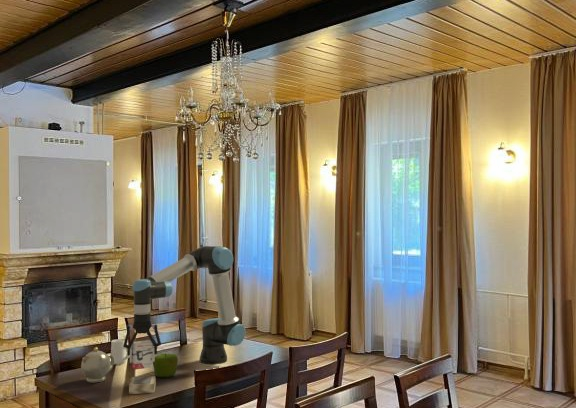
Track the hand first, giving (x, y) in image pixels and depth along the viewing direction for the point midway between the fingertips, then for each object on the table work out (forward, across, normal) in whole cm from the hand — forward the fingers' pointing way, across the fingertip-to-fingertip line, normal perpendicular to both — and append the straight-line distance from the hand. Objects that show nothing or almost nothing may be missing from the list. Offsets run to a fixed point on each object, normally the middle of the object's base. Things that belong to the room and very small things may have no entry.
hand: (142, 361), depth 265 cm
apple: (+13, -10, -20) cm, 26 cm away
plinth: (+13, 0, 0) cm, 13 cm away
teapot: (+13, +22, -20) cm, 33 cm away
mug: (+13, +15, -53) cm, 57 cm away
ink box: (+3, 0, 0) cm, 3 cm away
